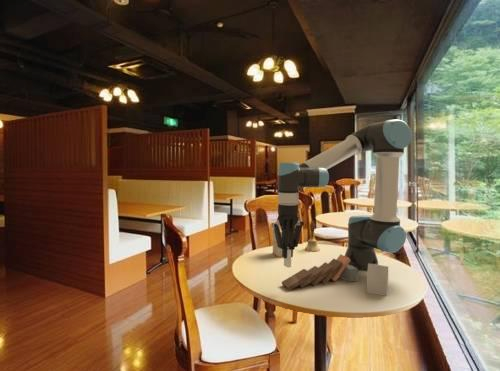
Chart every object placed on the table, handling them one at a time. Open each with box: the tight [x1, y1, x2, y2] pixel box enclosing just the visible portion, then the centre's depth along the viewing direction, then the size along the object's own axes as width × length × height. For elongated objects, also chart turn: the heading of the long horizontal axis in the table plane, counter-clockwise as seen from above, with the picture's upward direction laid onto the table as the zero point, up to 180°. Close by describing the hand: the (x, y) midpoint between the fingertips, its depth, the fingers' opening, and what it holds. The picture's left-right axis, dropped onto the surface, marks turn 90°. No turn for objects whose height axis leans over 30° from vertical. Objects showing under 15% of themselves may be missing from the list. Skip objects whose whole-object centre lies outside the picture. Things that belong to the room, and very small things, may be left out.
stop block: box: [338, 264, 359, 283], centre depth 119 cm, size 4×10×5 cm, turn 24°
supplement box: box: [272, 228, 283, 258], centre depth 148 cm, size 8×5×13 cm, turn 17°
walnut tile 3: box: [309, 262, 335, 286], centre depth 114 cm, size 2×5×11 cm
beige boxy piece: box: [365, 263, 389, 296], centre depth 105 cm, size 4×7×10 cm, turn 58°
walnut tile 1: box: [281, 268, 313, 291], centre depth 110 cm, size 2×5×11 cm
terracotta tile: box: [329, 253, 351, 282], centre depth 118 cm, size 2×5×11 cm
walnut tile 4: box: [320, 258, 343, 284], centre depth 116 cm, size 2×5×11 cm
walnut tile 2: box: [297, 265, 324, 289], centre depth 112 cm, size 2×5×11 cm
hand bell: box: [304, 220, 321, 253], centre depth 158 cm, size 8×8×16 cm
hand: (287, 266), depth 108 cm, fingers closed
